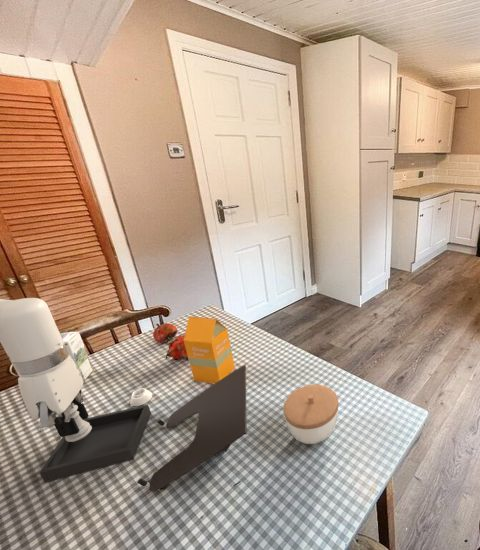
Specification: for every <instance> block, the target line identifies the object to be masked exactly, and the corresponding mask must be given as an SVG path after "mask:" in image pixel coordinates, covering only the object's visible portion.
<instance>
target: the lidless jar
mask: <svg viewBox="0 0 480 550" xmlns="http://www.w3.org/2000/svg"><path fill="white" fill-rule="evenodd" d="M130 396H131V397H130V399H129V404H130V406H131V407H140V406H144V405H146V404H147V403H148V402H149V401H151V400H152V398H153V393H152V392H151V390H148V389H146V387H145V388H144V387H141V388H137V389H136V390H134V391H133V392H132V393H131V395H130Z"/></svg>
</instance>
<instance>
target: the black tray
mask: <svg viewBox="0 0 480 550" xmlns="http://www.w3.org/2000/svg"><path fill="white" fill-rule="evenodd" d="M151 415H152V412H151V409H150V406H149V404H144V405H139V406H134V407H131V408H126V409H122V410H118V411H117V410H116V411H113V412H108V413H104V414H98V415H95V416H91V417H88V418H86V419H83V420H84V421H87V422H89V423H90V426H91V427H92V429H91V431H90V433H89V434H88V435H87V436H86V437H84V438H83V439H81V440H79V441H75V442H68V441H66V438H65V437H61V439H60V440H59V442H58V443H57V445H56V446H55V448H54V450H52V452H51V454H50V455H49V456H48V458H47V459H46V461H45V462H44V464H43V466H42V467H41V469H40V471H39V472H38V474H39V476H40V477H41V479H42V481H43V483H45V484H46V483H49V482H50V483H51V482H53V481H54V482H55V481H57V480H60V479H65V478H68V477H73V476H76V475H79V474H84V473H88V472H91V471H95V470H99V469H102V468H106V467H109V466H110V467H111V466H115V465H117V464H122V463H125V462H129V461H132V460H134V459H135V457H136V455H137V454H136V453H137V451H138V449H139V447H140V444H141V441H142V438H143V436H144V433H145V430H146V428H147V426H148V423H149V421H150V417H151Z"/></svg>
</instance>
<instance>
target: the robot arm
mask: <svg viewBox="0 0 480 550" xmlns="http://www.w3.org/2000/svg"><path fill="white" fill-rule="evenodd" d="M60 333H61V332H60V330H59V328H58V326H57V323H56V321H55V319H54V317H53V315H52V312H51V310H50V307H49V306H48V304H47V302H46V301H45V300H43V299H41V298H38V297H24V298H19V299H18V298H17V299H5V298H4V299H3V298H0V344H1V346H2V348H3V350H4V352H5V353H6V355H7V357H8V359H9V361H10V363H11V364H12V366H13V368H14V370H15V372H16V373H17V375H18V376H19V377H18V378H17V383H18V388H19V392H20V394H21V395H20V396H21V398H22V400H23V403H24V405H25V407H26V410H27V412H28V414H29V415H30V417H31V419H32V420H34V421H36V420H39V426H40V429H45V428H49V427H54V428H55V430H56V431H57V434H58V436H59V437H60V438H62V437H65V436H69V435H73V434H77V433H78V432H79V431H80V430H79V428H78V426H77V424H76V422H75V420H74V418H70V415H69V412H68V409H67V408H68V406H69V405H70V404H72V403H74V405H77V406H78V409H77V411H78V412H79V416H80V417H81V418H82V420H83V419H86V418H89V416H90V415H89V413H88V411H87V408H86V405H85V404H84V403H83V402H84V397H83V395H82V388H83V386H84V382H83V379H82V377H81V374H80V372H79V370H78V368H77V366H76V364H75V363H74V361H73V360H72V358H71V357H70V355H69V352H68V350H67V348H66V346H65V343H64V341H63V339H62V337H61V334H60ZM59 414H62V417H59V416H58V415H59Z"/></svg>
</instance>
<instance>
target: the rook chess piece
mask: <svg viewBox="0 0 480 550" xmlns="http://www.w3.org/2000/svg"><path fill="white" fill-rule="evenodd" d="M67 409H68V412H69V415H70V418H74V420H75V422H76V424H77V426H78V428H79V430H80V431H79V432H78V433H77V434H73V435H69V436H65V438H66V441H68V442H75V441H79V440H81V439H83V438H84V437H86V436H87V435H88V434H89V433H90V431H91V429H92V427H91V426H90V423H89V422H87V421H84V420H82V418H81V417H80V416H79V412H78V411H77V409H78V406H77V405H74V403H72V404H70V405H69V406H68V408H67ZM57 417H62V414H59V415H58V414H57Z"/></svg>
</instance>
